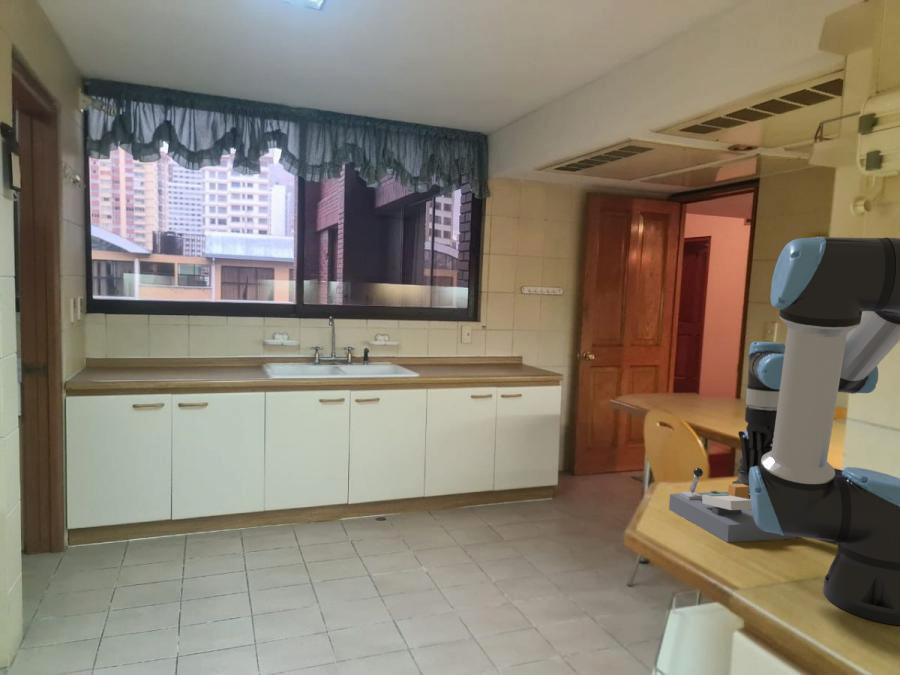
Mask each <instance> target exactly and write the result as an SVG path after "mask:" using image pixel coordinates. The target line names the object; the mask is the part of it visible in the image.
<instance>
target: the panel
mask: <svg viewBox="0 0 900 675" xmlns="http://www.w3.org/2000/svg"><path fill="white" fill-rule="evenodd" d="M705 494H728V491H717V490H711V491H709V492H694V493H691V492H690V491H681V492H680V493H670V494H669V505H668V510H670V512H673V513H675V514H677V515H678V516H680V517H682V518H684V519H685V520H687V521H689V522H691V523H692V524H694V525H695V526H697V527H699V528H701V529H703V530H704V531H706V532H708V533H710V534H711V535H713V536H715V537H717V538H719V540H722V541H724V542H726V543H741V542H742V543H745V542H756V541H757V542H759V541H773V540H789V539H792V540H793V539H796V536H789V535H784V536H782V535H780V534H777V533H771V532H765V531H763V530H761V529H759V528H758V526H757V525H756V523H755V521H754V517H753V513H752V509H745V510H728V509H724V508H720V507H715V506H711V505H707V504H703V502H702V495H705Z"/></svg>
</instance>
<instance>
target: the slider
mask: <svg viewBox="0 0 900 675" xmlns="http://www.w3.org/2000/svg"><path fill="white" fill-rule="evenodd" d="M727 490H728V491H727V492H728V495H731V496H736V497H741V498H746V499H749V495H750V494H749V486H747V485H744V484H728V488H727Z"/></svg>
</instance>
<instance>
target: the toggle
mask: <svg viewBox="0 0 900 675" xmlns="http://www.w3.org/2000/svg"><path fill="white" fill-rule="evenodd" d="M703 474H704V471H703V469H702V468H700V467H696V468H694V469H693V479H692V482H691V485H690V487H689V492H691V493H694V492H695V491H696V488H697V485H698V483H699V480H700V477H702V476H703ZM695 493H696V492H695Z"/></svg>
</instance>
